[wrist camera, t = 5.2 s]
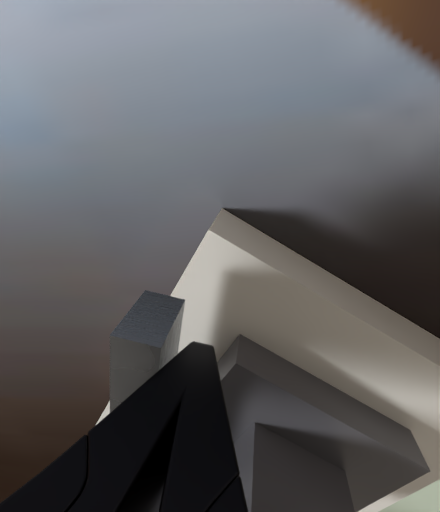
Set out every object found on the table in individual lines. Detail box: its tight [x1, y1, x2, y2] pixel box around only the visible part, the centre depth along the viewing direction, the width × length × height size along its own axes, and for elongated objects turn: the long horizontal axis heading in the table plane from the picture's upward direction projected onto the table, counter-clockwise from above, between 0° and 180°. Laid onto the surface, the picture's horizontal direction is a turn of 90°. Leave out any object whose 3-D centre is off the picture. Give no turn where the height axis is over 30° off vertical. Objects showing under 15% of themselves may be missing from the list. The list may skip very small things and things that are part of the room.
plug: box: [217, 334, 430, 512], centre depth 11 cm, size 8×8×9 cm
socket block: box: [95, 208, 440, 512], centre depth 14 cm, size 14×14×3 cm
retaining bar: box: [110, 290, 185, 512], centre depth 10 cm, size 13×2×4 cm, turn 170°
